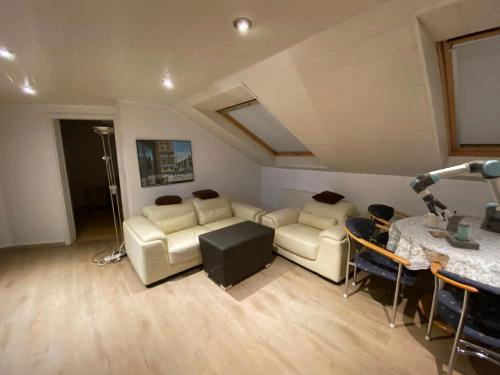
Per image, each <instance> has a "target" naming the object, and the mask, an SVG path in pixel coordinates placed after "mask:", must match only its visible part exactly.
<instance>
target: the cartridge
mask: <svg viewBox="0 0 500 375" xmlns="http://www.w3.org/2000/svg"><path fill="white" fill-rule="evenodd" d="M470 227H471V223H469V222H465V221H460V222H459V223H458V233H456V235H457V240H458V241H467V238H468V237H469V231H470Z"/></svg>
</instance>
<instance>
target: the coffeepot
mask: <svg viewBox="0 0 500 375" xmlns="http://www.w3.org/2000/svg"><path fill="white" fill-rule="evenodd" d="M450 213H451V214H452V215H453V216H451V217H448V216H447V220H446V217H445V215H446V214H445V213H444V212H443V211H442V212H441V213H440V215H441V216H442V217H443V218H444V219H443V220H442V221H444V222H447V221H448V222H447V225H446V227H445V230H446V232H449V233H453V234H455V233H456V234H457V233H458V223H459V222H462V220H463V219H464V218H466V216H465V215H463V214H461V213H458V212H457V210H454V211H453V212H450Z"/></svg>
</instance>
